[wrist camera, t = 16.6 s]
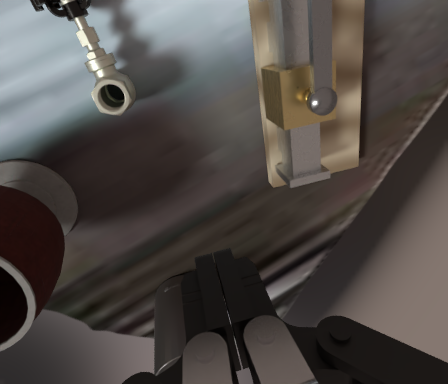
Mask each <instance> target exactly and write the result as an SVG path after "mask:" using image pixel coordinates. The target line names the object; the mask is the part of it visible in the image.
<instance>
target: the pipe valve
mask: <svg viewBox="0 0 448 384" xmlns="http://www.w3.org/2000/svg"><path fill="white" fill-rule="evenodd" d="M264 1H268V4H269V15H270V22H267V33H268V44H269V52H273V61H274V65H272V66H267V67H263V68H261V74H262V84H263V93H264V102H265V112H266V118H267V119H268V120H270V121H271V122H273V123H274V124H275V125H277V126H278V127H277V128H276V130H277V141H278V150H280V151H281V152H282V163H283V164H279V165H275V170H276V173H277V174H278V175H279V176H280V177H281V178H282V179H283V181H284V182H285V183H286V184H287V185H288V186H289V187H290V188H293V187H296V186H300V185H304V184H308V183H312V182H316V181H320V180H324V179H328V178H330V170H329V169H327V168H326V167H325V166H323V165H322V164H321V151H320V122H323V121H328V120H332V119H336V107H335V108H334V110H333V111H332V112H331V113H329V114H327V115H324V116H320V115H317V114H315V113H313V112H311V111H310V110H309V109H308V107H307V104H306V100H307V96H308V94H309V93H310V91H311V85H310V59H309V32H308V5H307V0H258V2H264ZM332 89H333V90H334V91H335V92H336V60H332Z"/></svg>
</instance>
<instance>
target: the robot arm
mask: <svg viewBox="0 0 448 384" xmlns="http://www.w3.org/2000/svg"><path fill="white" fill-rule="evenodd" d="M213 254H214V258H215V262H216V266H217V271H218V275H219V279H220V282H219V279H218V275H217V271H216V267H215V263H214V260H213V256H212V253H210V254H206V255H203V256H199V257H195V263H196V268H197V270H196V271H193V272H189V273H185V275H179V276H175V277H172V278H170V279H168V280H166V281H165V282H164V283H163V284H161V285H160V287H159V288H158V289H157V292H156V294H155V330H154V346H155V347H154V374H152V373H150V372H140V373H137V374H134V375H133V376H131V377H129V378H128V379H127V380H125V381H124V382H123V383H122V384H239V382H238V378H237V374H236V371H239V370H241V366H240V362H239V358H238V353H237V349H236V345H235V341H234V337H233V332H234V336H235V340H236V344H237V347H238V351H239V355H240V359H241V362H242V366H243V369H245V368H248V367H249V369H250V372H251V375H252V379H253V383H254V384H448V363H447V362H444V361H442V360H440V359H438V358H435V357H433V356H431V355H429V354H427V353H425V352H422V351H420V350H418V349H416V348H413V347H411V346H409V345H407V344H405V343H402V342H400V341H398V340H395V339H393V338H391V337H389V336H387V335H385V334H382V333H380V332H378V331H376V330H373V329H371V328H369V327H367V326H364V325H362V324H360V323H358V322H356V321H353V320H351V319H349V318H346V317H343V316H330V317H327V318H325V319H323V320H321V321H320V323H319V324H318V326H317V327H316V328H315V327H312V328H311V327H296V326H292V325H289V324H287V323H285V322H284V321H283V320H282V319H280V318H279V316H278V315H277V313H276V311H275V309H274V307H273V305H272V302H271V300H270V298H269V296H268V293H267V291H266V289H265V287H264V284H263V283H262V280H261V278H260V275H259V273H258V271H257V269H256V266H255V264H254V263H253V262H252V261H250V260H249V259H248V258H247V257H244V258H240V259H236V260H234V257H233V254H232V251H231V249H230V248H229V249H225V250H221V251H217V252H214V253H213ZM220 283H221V286H220ZM221 287H222V290H221ZM222 291H223V294H222ZM223 295H224V298H223ZM224 299H225V301H224ZM225 302H226V305H225ZM226 306H227V309H226ZM227 310H228V313H227ZM228 314H229V317H230V320H229V317H228ZM230 321H231V324H230ZM231 325H232V328H231ZM232 329H233V332H232Z"/></svg>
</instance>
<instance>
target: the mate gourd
mask: <svg viewBox="0 0 448 384" xmlns="http://www.w3.org/2000/svg"><path fill="white" fill-rule="evenodd" d="M77 214H78V203H77V199H76V196H75V194H74V192H73V190H72V188H71V186H70V185H69V184H68V183H67V182H66V180H65V179H63V178H62V177H61V176H60V175H59V174H58V173H56V172H54V171H53V170H51V169H49V168H48V167H45V166H43V165H40V164H38V163H34V162H29V161H21V160H11V161H3V162H0V351H2V350H4V349H6V348H8V347H10V346H11V345H13V344H14V343H16V342H17V341H18V340H19V339H21V338H22V337H23V336H24V334H25V333H26V332H27V331H28V330H29V328H30V326H31V324H32V322H33V321H34V320H35V318H36V317H37V316H38V315H39V314H40V312H41V310H42V309H43V308H44V306H45V305H46V303H47V302H48V300H49V298H50V296H51V294H52V292H53V290H54V288H55V285H56V283H57V280H58V278H59V276H60V273H61V268H62V262H63V257H64V251H65V242H64V236H65V235H67V234H68V232H69V231H70V230H71V229H72V227H73V225H74V223H75V221H76V219H77Z"/></svg>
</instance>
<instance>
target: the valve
mask: <svg viewBox="0 0 448 384" xmlns="http://www.w3.org/2000/svg"><path fill="white" fill-rule="evenodd" d="M30 1H31V3H32V5H33V7H34V9H35V11H37V12H38V11H43V10H44V8H43V6H42V5H43V4H45V5H46V7H47V8H48V10H49V11H50V12H51V13H52V14H53V15H55V16H57V17H67V19H68V21H75V23H76V25H77V27H78V29H79V31H78V32H76V34H77V36H78V38H79V40H80V42H81V44H82V46H83V47H87V49H88V51H89V52H88V53H87V56H88V58H89V61H87V62H85V65H86V67H87V69H88V71H89V73H91V72H92V73H93V74H94V76H95V78H96V83H95V87H94V90H93V91H92V93H91V95H92V97H93V99H94V101H95V103H96V105H97V107H98V109H99V110H100V112H101V113H106V114H112V115H120V116H121V115H122V113H123V112H125V111H127V110H128V109H129V108H131V106H132V105H133V103H134V101H135V98H136V91H135V87H134V85H133V83H132V82H131V80H130V78H129V76H128V75H123V74H121V73H119V72H118V71H117V69H116V67H115V65H114V64H115V63H116V60H115V58H114V55H113V53H109V54H106V52H105V50H104V48H100V47H99V45H98V43H97V42H99V41H100V40H99V38H98V35H97V33H96V31H95V29H94V27H89V26H88V24H87V22H86V20H85V18H84V17H86V16H88V12H87V10H86V9H87V8H89V6H90V3H91V0H83V1H82V0H30ZM59 3H60V4H59ZM60 5H61V6H60ZM61 7H62V9H63V10H58V9H59V8H61ZM108 84H113V85H116V86H118V87H119V88H120V89H121V90H122V91H123V93H124V96H125V99H123V100H117V99H114V98H113V97H111V95H110V94H109V92H108V89H107V86H108Z"/></svg>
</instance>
